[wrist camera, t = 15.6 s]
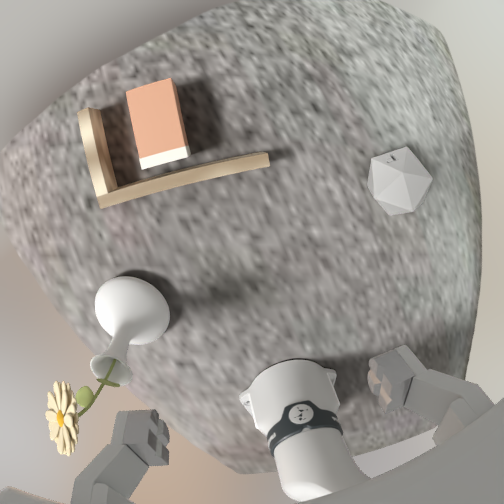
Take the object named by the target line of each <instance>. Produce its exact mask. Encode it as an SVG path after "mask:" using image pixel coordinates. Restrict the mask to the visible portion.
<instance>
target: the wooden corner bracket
mask: <svg viewBox="0 0 504 504" xmlns="http://www.w3.org/2000/svg"><path fill="white" fill-rule="evenodd" d="M77 114H78V120H79V125H80V130H81V135H82V140H83V145H84V149H85V153H86V158H87V162H88V166H89V170H90V174H91V178H92V182H93V185H94V189H95V192H96V196H97V199H98V203H99V206H100V209H102V208H105V207H109V206H112V205H115V204H118V203H121V202H125V201H128V200H131V199H135V198H138V197H142V196H145V195H149V194H152V193H156V192H160V191H163V190H167V189H171V188H175V187H179V186H182V185H186V184H190V183H194V182H199V181H203V180H207V179H211V178H216V177H220V176H224V175H229V174H234V173H238V172H243V171H248V170H253V169H258V168H263V167H268V166H270V163H269V158H268V153H265V152H256V153H251V154H246V155H241V156H236V157H231V158H227V159H222V160H218V161H213V162H209V163H205V164H200V165H196V166H192V167H188V168H184V169H180V170H176V171H172V172H169V173H165V174H161V175H158V176H154V177H151V178H147V179H144V180H140V181H137V182H134V183H130V184H127V185H124V186H121V187H118V186H117V182H116V178H115V174H114V171H113V167H112V163H111V158H110V154H109V150H108V146H107V141H106V137H105V132H104V127H103V122H102V117H101V112H100V110H98V109H93V108H89V107H88V108H86V109H83V110H81V111H79V112H77Z"/></svg>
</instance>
